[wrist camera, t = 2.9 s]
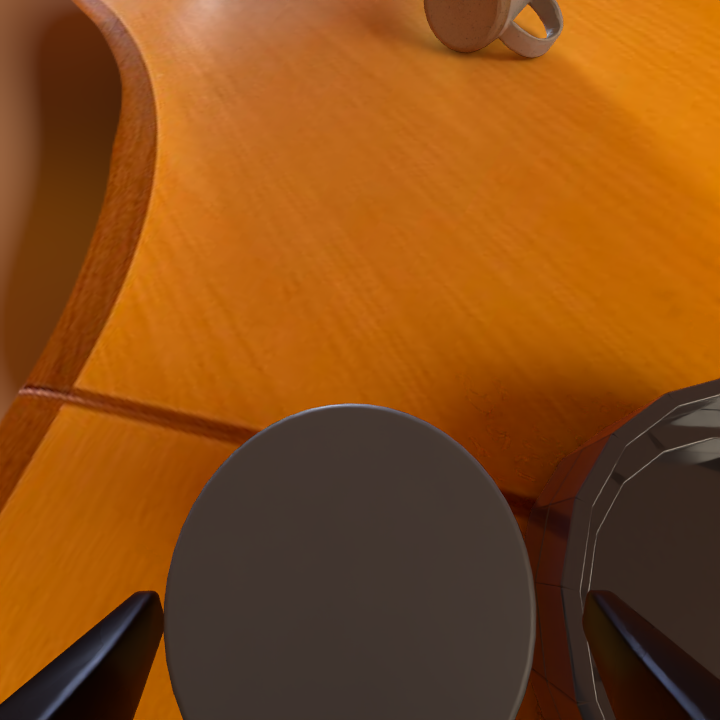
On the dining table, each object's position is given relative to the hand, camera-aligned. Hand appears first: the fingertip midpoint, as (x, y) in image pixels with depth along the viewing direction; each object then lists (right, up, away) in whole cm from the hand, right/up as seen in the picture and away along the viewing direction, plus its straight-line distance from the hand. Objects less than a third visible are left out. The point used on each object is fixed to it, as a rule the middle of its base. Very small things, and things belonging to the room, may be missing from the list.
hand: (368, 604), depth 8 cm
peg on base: (0, -3, +9) cm, 9 cm away
